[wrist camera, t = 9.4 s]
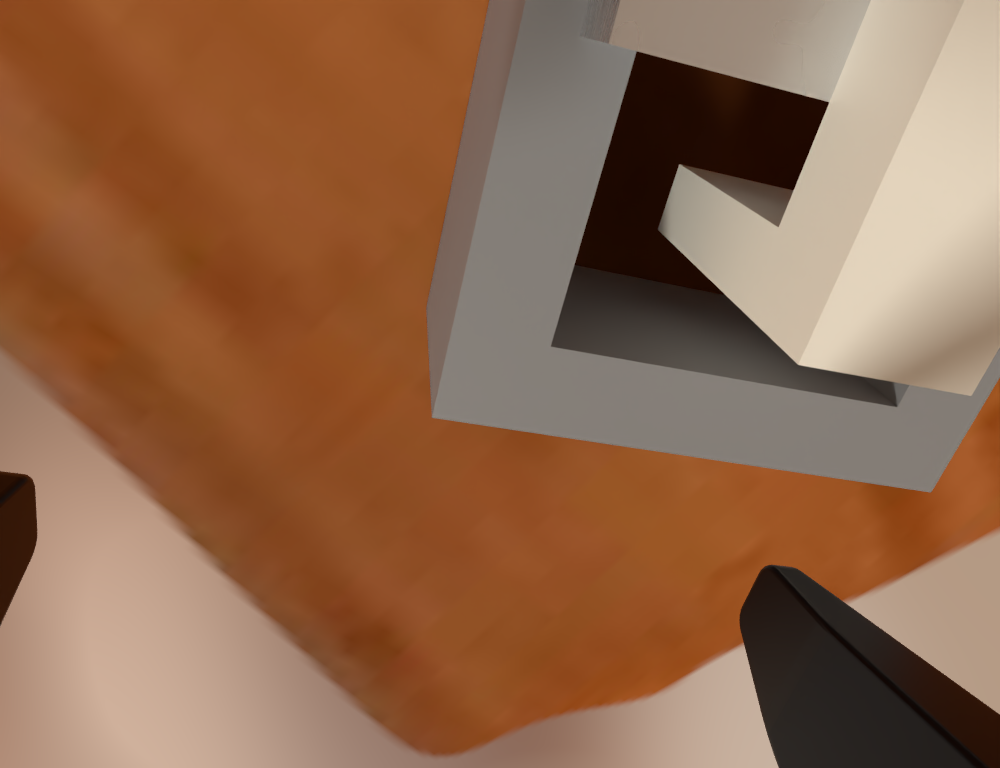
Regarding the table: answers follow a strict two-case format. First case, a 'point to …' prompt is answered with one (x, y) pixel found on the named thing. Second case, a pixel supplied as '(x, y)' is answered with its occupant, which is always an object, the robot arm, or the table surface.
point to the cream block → (875, 210)
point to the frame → (626, 299)
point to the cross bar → (738, 37)
